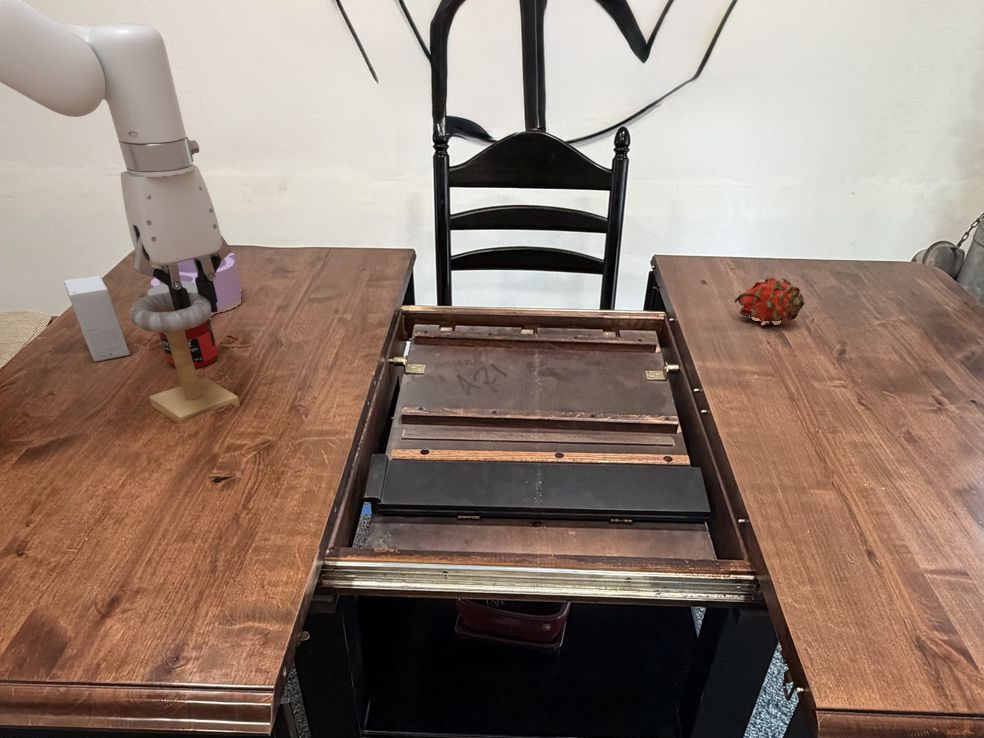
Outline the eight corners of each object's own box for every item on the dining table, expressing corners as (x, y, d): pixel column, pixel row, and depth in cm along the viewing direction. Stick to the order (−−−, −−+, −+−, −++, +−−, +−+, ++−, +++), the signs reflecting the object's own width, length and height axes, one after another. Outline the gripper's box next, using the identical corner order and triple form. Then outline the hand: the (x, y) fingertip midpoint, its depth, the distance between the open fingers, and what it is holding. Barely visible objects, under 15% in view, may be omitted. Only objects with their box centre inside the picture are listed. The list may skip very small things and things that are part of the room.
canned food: (157, 366, 113) (135, 294, 105) (188, 347, 118) (169, 278, 111) (199, 373, 111) (180, 301, 104) (228, 353, 117) (211, 284, 109)
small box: (130, 356, 115) (108, 289, 108) (93, 362, 113) (68, 294, 106) (122, 339, 120) (100, 274, 113) (86, 345, 118) (62, 279, 111)
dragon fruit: (799, 338, 129) (731, 338, 134) (805, 297, 131) (737, 299, 135) (804, 309, 122) (731, 310, 126) (810, 266, 123) (738, 268, 127)
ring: (156, 341, 89) (150, 322, 88) (120, 320, 95) (114, 302, 93) (227, 320, 95) (223, 302, 93) (189, 301, 100) (184, 284, 98)
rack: (183, 427, 98) (158, 345, 90) (151, 406, 103) (125, 326, 95) (240, 406, 103) (221, 326, 95) (208, 386, 107) (187, 309, 100)
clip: (212, 330, 124) (201, 289, 119) (144, 326, 125) (131, 285, 120) (254, 291, 139) (246, 254, 134) (193, 288, 140) (184, 250, 135)
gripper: (203, 143, 91) (236, 292, 103) (75, 161, 82) (127, 321, 94) (235, 152, 87) (265, 305, 99) (104, 171, 78) (155, 337, 90)
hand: (198, 312), depth 97 cm, fingers closed on ring, 2 cm apart
